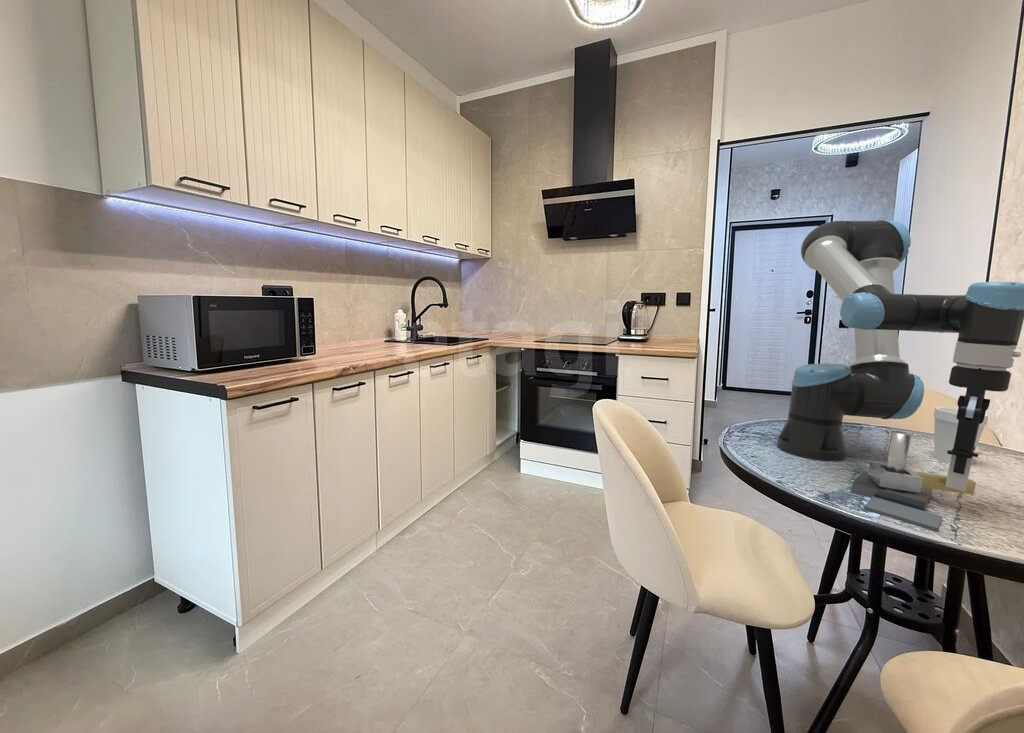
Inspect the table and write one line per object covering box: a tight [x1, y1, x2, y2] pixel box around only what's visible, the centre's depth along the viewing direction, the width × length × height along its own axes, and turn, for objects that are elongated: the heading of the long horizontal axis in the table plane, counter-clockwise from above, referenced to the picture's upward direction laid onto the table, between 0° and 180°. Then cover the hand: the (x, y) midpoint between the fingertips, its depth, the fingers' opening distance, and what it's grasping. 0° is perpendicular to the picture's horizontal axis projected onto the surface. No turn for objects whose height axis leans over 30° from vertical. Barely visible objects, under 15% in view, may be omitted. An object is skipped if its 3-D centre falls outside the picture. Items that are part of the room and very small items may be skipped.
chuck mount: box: [850, 470, 934, 511], centre depth 88 cm, size 11×11×2 cm
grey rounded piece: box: [933, 406, 989, 464], centre depth 110 cm, size 10×9×13 cm
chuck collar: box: [868, 461, 977, 496], centre depth 86 cm, size 15×6×3 cm, turn 67°
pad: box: [863, 496, 944, 532], centre depth 79 cm, size 10×7×1 cm
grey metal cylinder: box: [885, 430, 912, 474], centre depth 87 cm, size 3×3×11 cm
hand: (955, 488), depth 82 cm, fingers closed
